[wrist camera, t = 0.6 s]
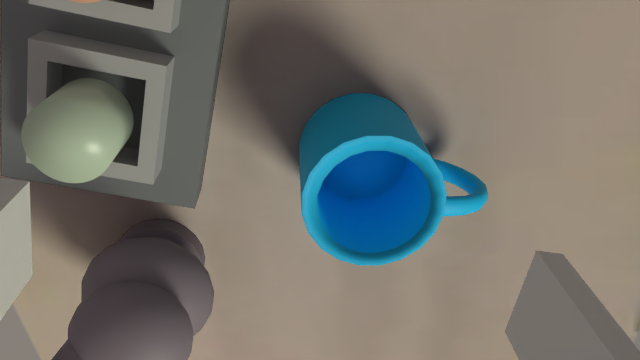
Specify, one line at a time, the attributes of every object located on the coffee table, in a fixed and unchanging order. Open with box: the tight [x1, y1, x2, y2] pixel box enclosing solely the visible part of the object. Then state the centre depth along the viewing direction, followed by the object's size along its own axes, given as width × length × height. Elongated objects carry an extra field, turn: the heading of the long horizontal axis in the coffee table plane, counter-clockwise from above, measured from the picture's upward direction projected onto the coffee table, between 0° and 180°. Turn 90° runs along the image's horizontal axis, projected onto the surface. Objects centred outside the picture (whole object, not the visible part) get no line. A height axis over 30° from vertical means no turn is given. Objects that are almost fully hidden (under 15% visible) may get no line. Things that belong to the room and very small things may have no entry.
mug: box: [299, 93, 488, 265], centre depth 36 cm, size 12×8×8 cm
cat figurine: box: [52, 219, 214, 360], centre depth 37 cm, size 9×8×12 cm
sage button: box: [21, 78, 134, 183], centre depth 30 cm, size 4×4×4 cm
